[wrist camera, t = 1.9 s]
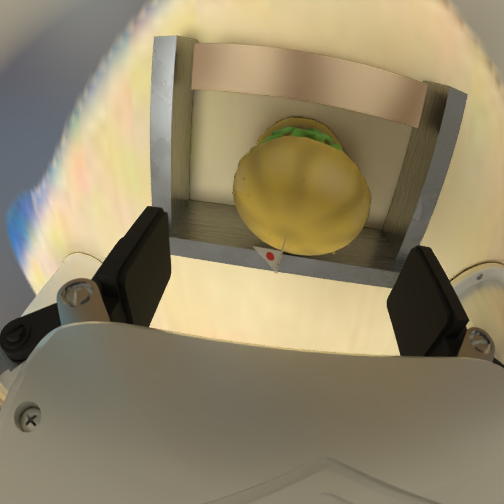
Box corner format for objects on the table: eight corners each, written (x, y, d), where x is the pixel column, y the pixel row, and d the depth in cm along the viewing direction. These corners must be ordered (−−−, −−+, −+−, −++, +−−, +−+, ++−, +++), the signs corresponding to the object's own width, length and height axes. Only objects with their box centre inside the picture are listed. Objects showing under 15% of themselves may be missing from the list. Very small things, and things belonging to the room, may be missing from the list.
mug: (152, 290, 33) (109, 378, 23) (135, 328, 37) (100, 405, 27) (66, 240, 30) (4, 311, 20) (61, 285, 35) (13, 351, 25)
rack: (439, 87, 18) (479, 97, 13) (391, 247, 26) (409, 290, 21) (178, 40, 18) (143, 35, 13) (173, 212, 27) (147, 250, 22)
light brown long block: (404, 80, 18) (431, 85, 14) (397, 115, 20) (422, 129, 16) (214, 47, 19) (194, 42, 15) (211, 84, 20) (191, 89, 16)
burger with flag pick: (364, 149, 22) (420, 226, 12) (311, 216, 26) (320, 323, 16) (280, 92, 20) (271, 118, 10) (232, 168, 24) (187, 254, 14)
